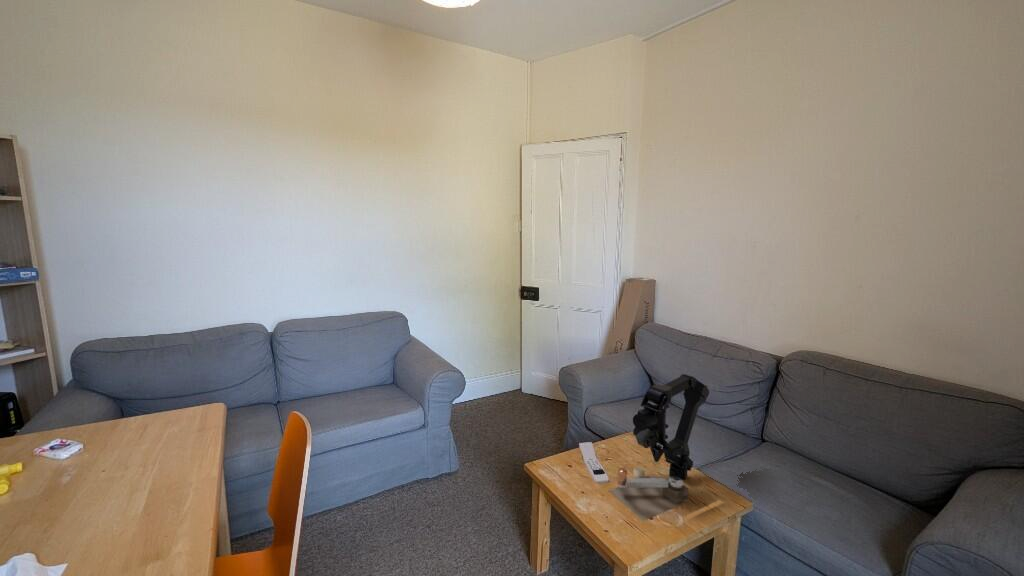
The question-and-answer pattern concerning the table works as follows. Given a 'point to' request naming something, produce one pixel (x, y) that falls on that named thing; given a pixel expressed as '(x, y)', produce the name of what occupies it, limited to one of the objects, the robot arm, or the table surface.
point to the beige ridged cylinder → (638, 472)
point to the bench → (650, 499)
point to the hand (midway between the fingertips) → (656, 461)
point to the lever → (647, 481)
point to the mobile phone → (593, 463)
